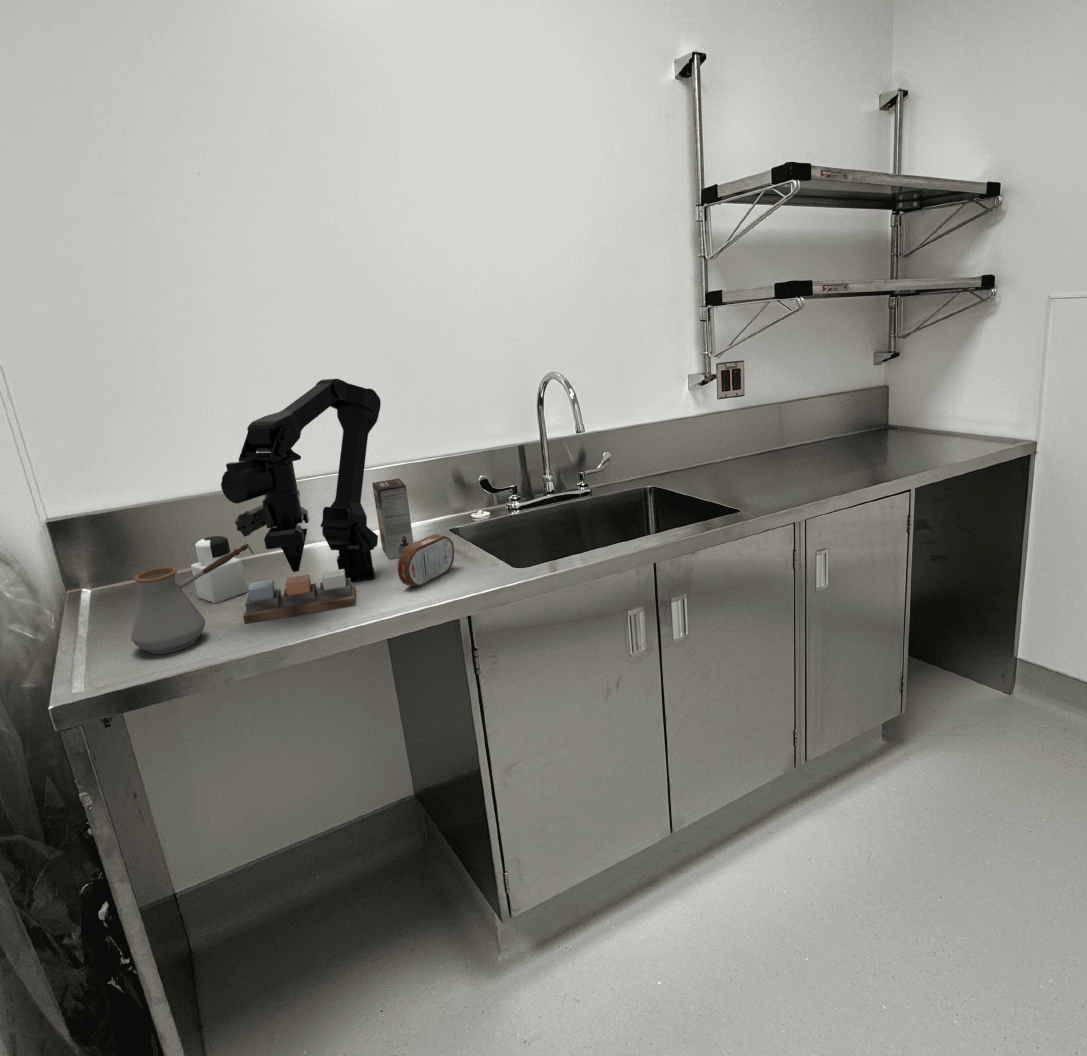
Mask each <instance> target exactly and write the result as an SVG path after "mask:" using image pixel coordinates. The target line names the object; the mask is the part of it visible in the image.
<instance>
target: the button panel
mask: <svg viewBox="0 0 1087 1056" xmlns="http://www.w3.org/2000/svg"><path fill="white" fill-rule="evenodd" d="M346 582H347V587H341V588H335V589H329V590H324V588H323V582H322V581H321V582H320V583H319V589H317V588H318V587H317V583H315V582H314V583H311V587H312V591H311V592H310V593H304V594H297V595H291V596H287V590H286V587H285V588H284V591H283V594H282V590H281V588H277V589H276V588H275V591H276V596H275V598H272V599H266V600H259V601H253V602H250V597H249V594H248V596H247V598H246V601H245V604H244V605H245V610H244V613H243V616H242V618H243V621H244V622H243V623H244V624H245V625H246V624H247V625H248V624H251V623H258V622H263V621H271V620H277V619H281V618H288V617H294V616H299V615H306V614H313V613H319V612H323V611H325V610H326V611H331V610H330V609H332V610H336V609H342V608H343V609H344V608H349V606H350V607H355V606H354V605H356V604H357V601H356V599H357V597H356V594H357V591H356V586H355V583H352V582H351V579H350V578H346ZM356 606H357V605H356ZM326 611H325V612H326Z"/></svg>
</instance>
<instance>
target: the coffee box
mask: <svg viewBox="0 0 1087 1056" xmlns="http://www.w3.org/2000/svg"><path fill="white" fill-rule="evenodd" d="M371 484H372V491H373V496H374V497H373V498H374V503H375V505H374V506H375V510H376V516H377V523H378V524H377V525H378V530H379V537H380V543H381V544H380V545H381V548H382V551H383V552H384V554H385V555H386V557H387V559H389V560H391V559H397V558H400V555H401V553H402V552H403V550H404V549H405V548H406V547H407V546H408V545H410V544H412V543H415V541H414V537H413V536H414V535H413V528H412V521H411V513H410V507H409V506H410V505H409V499H408V491H407V485H406V484H405V483H404V481H402V480H401V479H400V478H393V479H388V480H380V481H375V482H372V483H371Z"/></svg>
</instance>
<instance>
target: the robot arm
mask: <svg viewBox="0 0 1087 1056" xmlns="http://www.w3.org/2000/svg"><path fill="white" fill-rule="evenodd" d="M381 404H382V403H381V398H380V396H379V395H378V393H377V392H376V390H375V389H373V388H366V387H363V386H359V385H356V384H352V383H348V382H347V381H344V380H342V379H340V378H328V379H327V378H325V379H321V380H319V381H317V382H316V384H315V386H313V387H311V388H310V389H309V390H308V391H306V392H305V393H304V394H302V395H301V396H300V397H298V398H297V399H296V400H294V401H293V402H291V404H289V405H288V406H286V407H284V408H283V409H282V410H280V411H277V412H275V413H271V414H268V415H265V416H262V417H259V418H257V419H255V420H253V421H251V422H250V423H249V424H248V426H247V429H246V430H247V434H246V436H245V440H244V442H243V445H242V447H241V452H240V453H239V457H238V461H235V462H228V463H226V464H225V466H226V471H225V472H224V473H223V475H222V477H221V483H220V488H221V490H222V493H223V495H224V496H225V498H226V499H227V500H228V501H230V502H231V503H233V504H237V505H238V504H241V503H244V502H248V501H249V500H253V499H257V498H260V497H263V496H264V498H263V500H262V505H259V506H256V507H254V508H253V509H250V510H245V511H244V512H243V513H239V515H238V517H236V518H235V521H234V523H235V525H236V530H237V531H238V532H240V533H241V534H242V536H243V537H248V536H250V535H251V534H252V533H254V532H255V531H257V530H259V529H261V528H263V527H265V526H266V528H267V529H269V530H268V531H267V532H266V533H265V536H264V538H263V541H264V544H265V545H264V546H265V549H266V550H272V549H273V550H275V549H281V550H282V552H283V554H284V556H285V558H286V561H287V562H288V564H289V567H290V569H291V571H292V572H293V573H297V572H300V569H301V562H302V558H303V552H304V547H305V545H306V544H305V543H306V539H307V534H308V528H303V527H302V526H301V525H299V524H302V523H303V521H304V524H308V523H309V521H310V518H309V513H308V510H307V509H305V508H304V507H302V506H301V502H300V497H301V493H300V490H299V489H298V485H297V478H296V473H295V467H294V462H296V461H299V460H301V459H302V456H301V455H300V454H299V453H297V452H295V451H294V450H293V449H292V448H293V447H294V446H295V445H296V443H298V442H299V440H300V439H301V434H302V431H303V429H304V428H305V427H306V426H307V425H309V424H310V423H311V422H313V420H315V419H317V418H318V417H319V416H321V414H323V413H324V412H325V411H327V409H329V408H332V409H335V410H336V412H337V413H336V416H337V419H338V422H339V424H340V426H341V428H342V436H341V437H342V438H341V447H340V448H341V449H340V454H339V455H340V456H339V462H338V463H339V465H338V473H337V474H338V475H337V482H336V483H337V484H336V491H335V498H334V501H333V502H332V503H331V505H330V506H324V507H323V510H322V520H321V524H320V528H322V530H321V532H322V533H321V534H322V537H323V538H324V539H325V541H326V543H327V545H328V547H329V549H330V551H338V556H337V557H336V563H337V570H340V569H344V570H345V576H346V578H350V579H351V583H353V582H358V581H365V580H371V579H376V575H375V566H374V563H373V557H372V551H373V550H374V549H375V548H376V547H378V543H379V541H378V537H379V536H378V535H377V534H376V533H375V532H374V531H373V530H372V529H371V528H369V527H368V520H367V519H368V517H367V514H366V512H365V509H364V508H363V505H362V503H361V500H362V493H363V492H362V491H363V486H364V485H363V483H364V475H365V474H364V473H365V465H366V456H367V449H368V437H369V433H370V432H371V430H372V429H373V428H374V426H375V425H376V424H377V422H378V419H379V414H380V412H381V411H380V410H381V406H382V405H381Z"/></svg>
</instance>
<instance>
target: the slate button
mask: <svg viewBox="0 0 1087 1056" xmlns="http://www.w3.org/2000/svg"><path fill="white" fill-rule="evenodd" d="M275 589H276V587H275V582H274V579H269V580H263V581H257V582H251V583H250V585H249V587H248V588H247V592H248V595H249V597H250V602H253V601H259V600H266V599H272V598H275V596H276V591H275Z"/></svg>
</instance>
